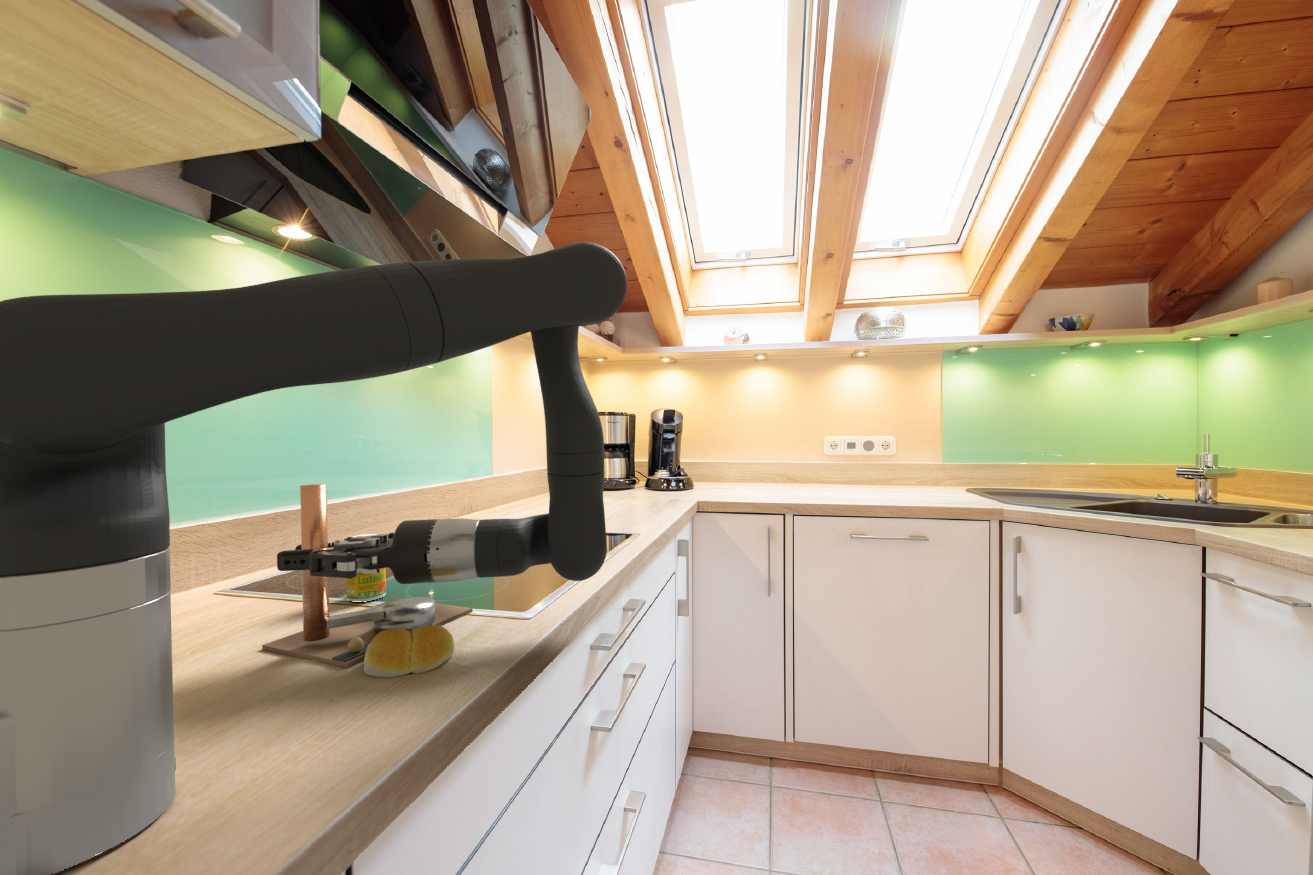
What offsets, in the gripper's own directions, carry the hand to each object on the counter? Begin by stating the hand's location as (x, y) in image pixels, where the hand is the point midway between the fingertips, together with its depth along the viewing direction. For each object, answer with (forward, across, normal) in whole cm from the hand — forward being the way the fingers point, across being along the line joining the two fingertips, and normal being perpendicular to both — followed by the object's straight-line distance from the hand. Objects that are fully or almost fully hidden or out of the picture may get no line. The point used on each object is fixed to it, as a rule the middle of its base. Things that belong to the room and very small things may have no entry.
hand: (288, 557), depth 61 cm
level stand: (-7, -6, +11) cm, 14 cm away
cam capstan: (-8, -2, +10) cm, 13 cm away
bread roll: (-15, +6, +12) cm, 20 cm away
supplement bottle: (0, -20, +11) cm, 23 cm away
